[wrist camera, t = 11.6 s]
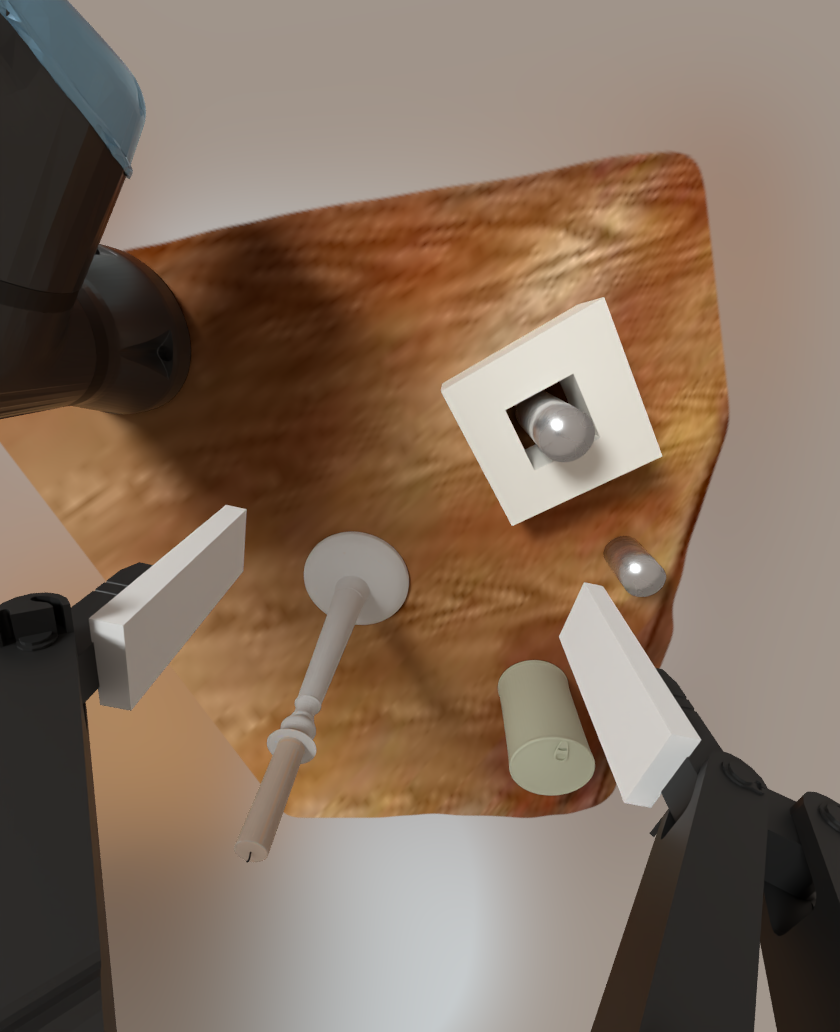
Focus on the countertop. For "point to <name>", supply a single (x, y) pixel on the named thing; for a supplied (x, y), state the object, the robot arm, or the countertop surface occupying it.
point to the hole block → (587, 386)
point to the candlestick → (323, 662)
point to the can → (543, 730)
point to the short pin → (634, 566)
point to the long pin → (556, 426)
